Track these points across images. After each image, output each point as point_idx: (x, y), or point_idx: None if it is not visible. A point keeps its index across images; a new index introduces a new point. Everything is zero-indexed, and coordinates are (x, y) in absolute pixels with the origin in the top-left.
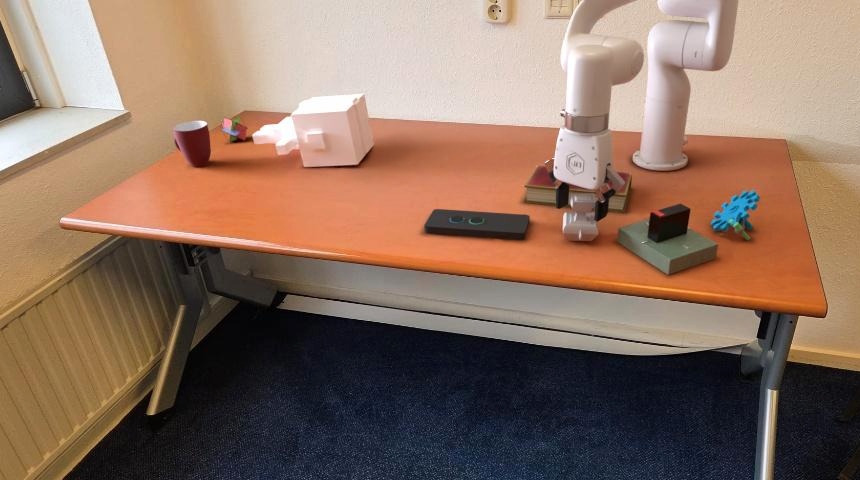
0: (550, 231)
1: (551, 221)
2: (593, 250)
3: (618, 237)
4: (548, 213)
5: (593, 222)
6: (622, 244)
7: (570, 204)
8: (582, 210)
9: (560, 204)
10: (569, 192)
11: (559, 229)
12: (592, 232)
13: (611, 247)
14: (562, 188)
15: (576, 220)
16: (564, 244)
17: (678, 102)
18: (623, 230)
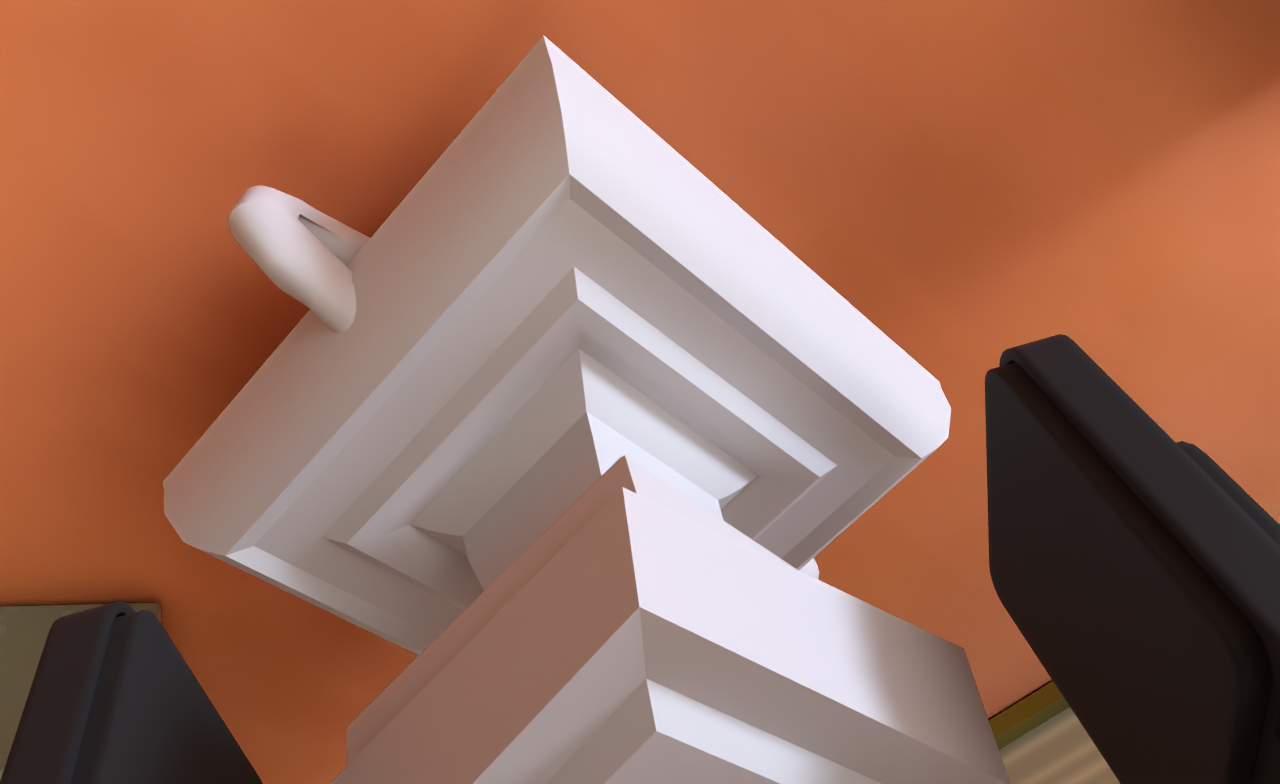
0: (942, 114)
1: (1106, 298)
2: (99, 249)
3: None
4: (1252, 387)
5: (370, 589)
6: (34, 614)
7: None
8: (467, 614)
9: (1028, 437)
10: None
11: (889, 249)
12: (218, 434)
13: (62, 482)
14: (1264, 758)
15: (566, 413)
16: (508, 17)
17: None
18: None
